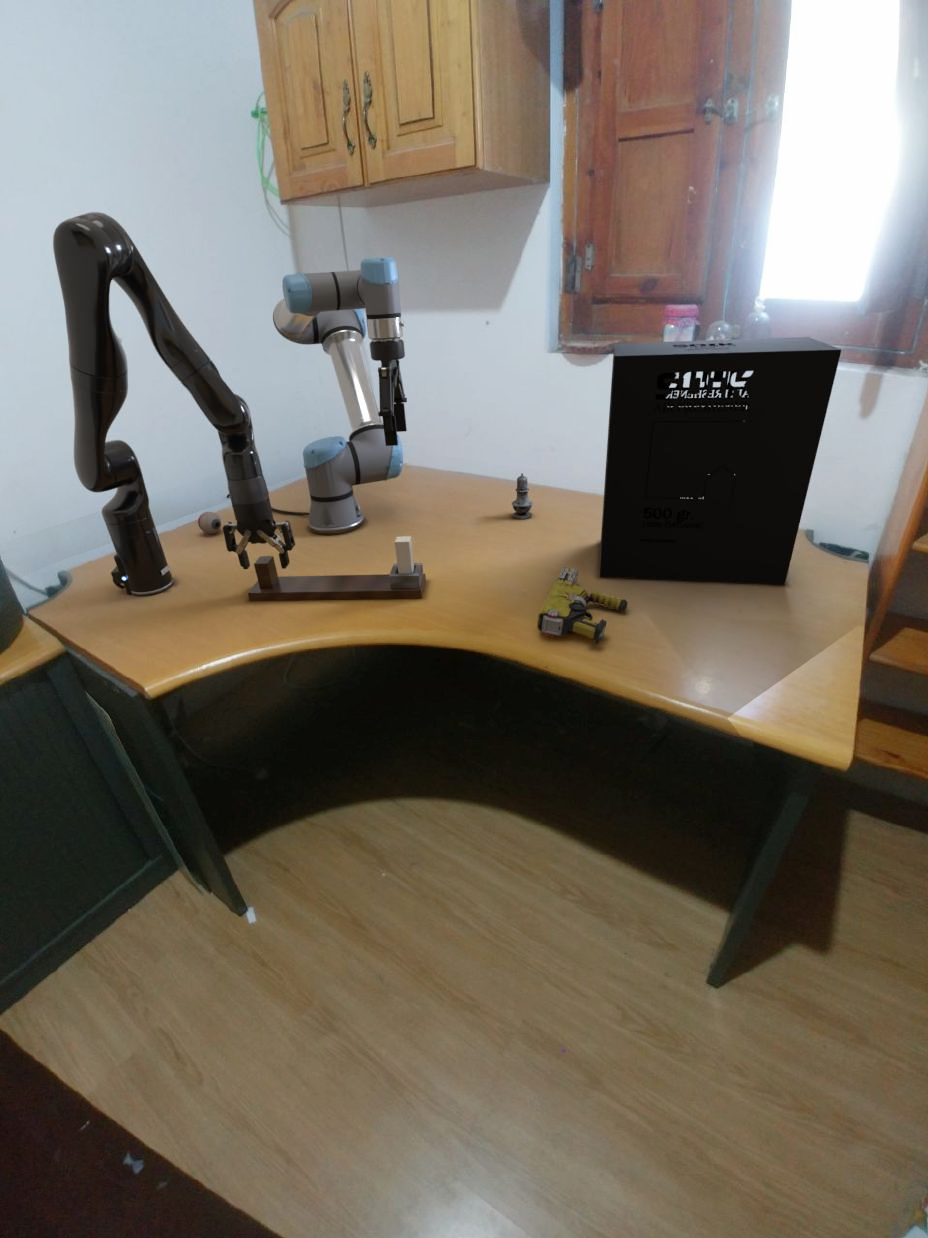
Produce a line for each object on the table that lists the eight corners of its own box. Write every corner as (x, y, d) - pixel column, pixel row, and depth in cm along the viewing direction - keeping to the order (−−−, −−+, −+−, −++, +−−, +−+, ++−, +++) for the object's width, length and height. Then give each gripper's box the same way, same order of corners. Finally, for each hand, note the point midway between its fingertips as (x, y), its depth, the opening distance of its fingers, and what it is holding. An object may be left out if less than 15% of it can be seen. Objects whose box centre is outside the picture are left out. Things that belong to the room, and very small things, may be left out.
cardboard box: (763, 546, 142) (808, 336, 120) (784, 584, 125) (841, 349, 103) (600, 540, 150) (614, 343, 127) (599, 576, 133) (614, 355, 110)
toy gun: (633, 576, 125) (562, 563, 129) (620, 630, 105) (537, 613, 109) (629, 596, 128) (560, 583, 132) (616, 653, 108) (534, 635, 111)
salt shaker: (531, 519, 165) (531, 476, 159) (510, 518, 166) (509, 476, 160) (533, 511, 170) (534, 469, 164) (513, 511, 171) (512, 469, 165)
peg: (399, 584, 130) (394, 541, 125) (401, 578, 133) (397, 536, 128) (413, 584, 130) (408, 541, 125) (415, 578, 133) (411, 536, 128)
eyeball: (211, 538, 165) (205, 517, 162) (196, 534, 168) (190, 514, 165) (229, 530, 169) (223, 510, 166) (214, 527, 172) (209, 507, 169)
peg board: (249, 601, 132) (241, 568, 128) (262, 584, 139) (254, 552, 135) (421, 598, 129) (418, 564, 125) (426, 581, 136) (423, 548, 132)
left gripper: (208, 503, 122) (228, 575, 130) (277, 501, 121) (292, 574, 129) (223, 491, 128) (240, 561, 136) (288, 489, 127) (302, 559, 135)
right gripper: (394, 344, 121) (404, 451, 131) (411, 333, 142) (419, 425, 153) (357, 346, 121) (370, 452, 132) (379, 334, 143) (389, 426, 154)
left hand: (266, 567), depth 133 cm, fingers open, 8 cm apart
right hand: (396, 438), depth 142 cm, fingers open, 13 cm apart
